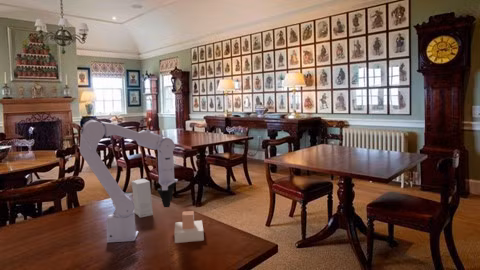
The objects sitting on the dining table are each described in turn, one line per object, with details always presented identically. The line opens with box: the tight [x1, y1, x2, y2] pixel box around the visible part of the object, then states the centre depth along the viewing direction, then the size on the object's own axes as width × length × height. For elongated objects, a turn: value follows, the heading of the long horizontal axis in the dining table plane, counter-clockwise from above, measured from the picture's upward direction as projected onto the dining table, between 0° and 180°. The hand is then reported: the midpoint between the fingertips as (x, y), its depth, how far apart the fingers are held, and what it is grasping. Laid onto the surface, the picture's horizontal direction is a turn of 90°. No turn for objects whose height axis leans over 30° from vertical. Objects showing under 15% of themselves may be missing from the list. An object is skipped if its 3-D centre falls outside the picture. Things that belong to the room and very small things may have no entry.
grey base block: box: [174, 219, 205, 244], centre depth 123 cm, size 10×10×4 cm
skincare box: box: [131, 178, 154, 218], centre depth 146 cm, size 8×6×15 cm
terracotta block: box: [181, 210, 195, 229], centre depth 123 cm, size 4×4×5 cm
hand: (167, 203), depth 129 cm, fingers open, 7 cm apart
